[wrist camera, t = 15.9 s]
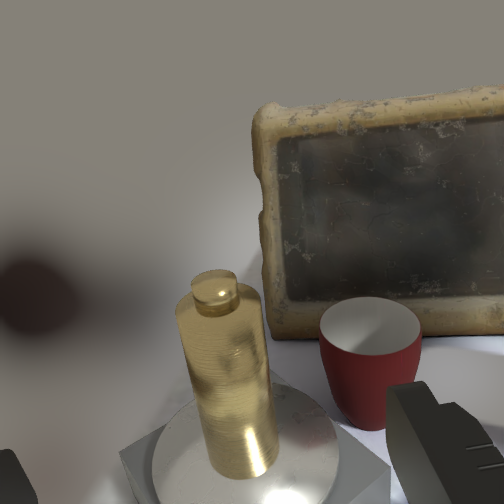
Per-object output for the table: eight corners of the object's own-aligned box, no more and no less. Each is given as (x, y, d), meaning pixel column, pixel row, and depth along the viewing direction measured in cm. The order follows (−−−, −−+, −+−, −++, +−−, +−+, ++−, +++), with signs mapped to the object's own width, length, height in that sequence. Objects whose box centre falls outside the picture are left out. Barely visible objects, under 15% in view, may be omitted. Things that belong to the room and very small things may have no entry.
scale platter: (263, 368, 41) (262, 359, 41) (380, 463, 31) (379, 452, 31) (126, 449, 35) (123, 440, 34) (217, 600, 25) (214, 589, 25)
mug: (333, 362, 48) (328, 280, 44) (414, 369, 46) (419, 283, 42) (318, 444, 40) (310, 351, 35) (418, 458, 37) (424, 360, 33)
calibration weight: (251, 409, 36) (226, 252, 29) (294, 450, 32) (275, 279, 26) (195, 445, 33) (154, 282, 27) (234, 494, 29) (197, 317, 23)
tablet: (267, 359, 50) (236, 127, 39) (268, 292, 63) (245, 100, 51) (586, 338, 47) (651, 79, 36) (521, 271, 60) (554, 63, 48)
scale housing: (266, 402, 45) (260, 361, 42) (389, 514, 33) (390, 467, 31) (130, 489, 38) (115, 446, 36) (228, 664, 27) (215, 618, 25)
